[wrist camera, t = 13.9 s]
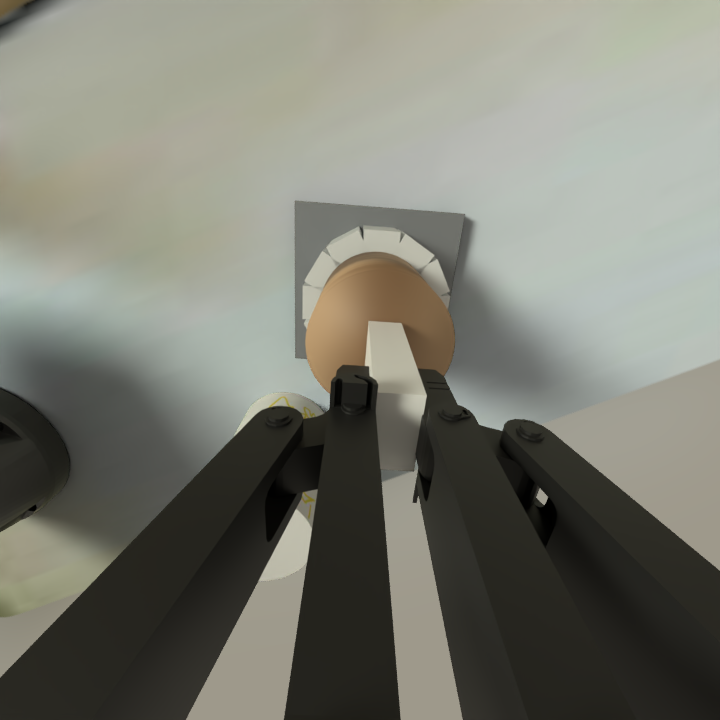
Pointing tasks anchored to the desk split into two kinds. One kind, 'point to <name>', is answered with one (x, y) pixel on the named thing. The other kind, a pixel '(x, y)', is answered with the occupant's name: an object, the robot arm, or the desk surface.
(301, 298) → the socket
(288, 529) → the cup
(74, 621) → the robot arm
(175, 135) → the desk surface
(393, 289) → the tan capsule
